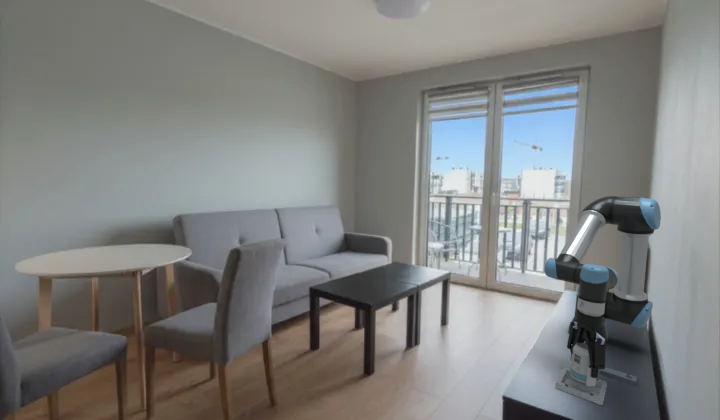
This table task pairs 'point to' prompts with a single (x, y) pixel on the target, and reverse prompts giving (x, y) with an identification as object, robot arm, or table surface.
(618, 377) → the bracket
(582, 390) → the rail plate
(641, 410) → the table surface
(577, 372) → the beverage can
